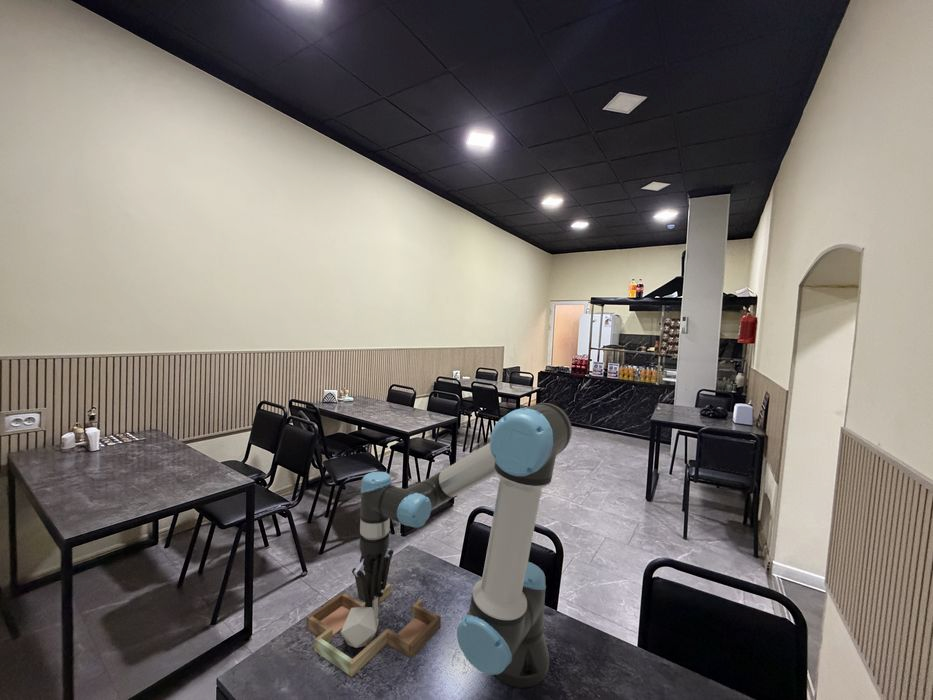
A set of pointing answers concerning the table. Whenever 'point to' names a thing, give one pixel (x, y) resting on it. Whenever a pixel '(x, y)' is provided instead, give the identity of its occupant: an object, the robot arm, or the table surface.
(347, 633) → the die
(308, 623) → the channel
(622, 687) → the table surface
